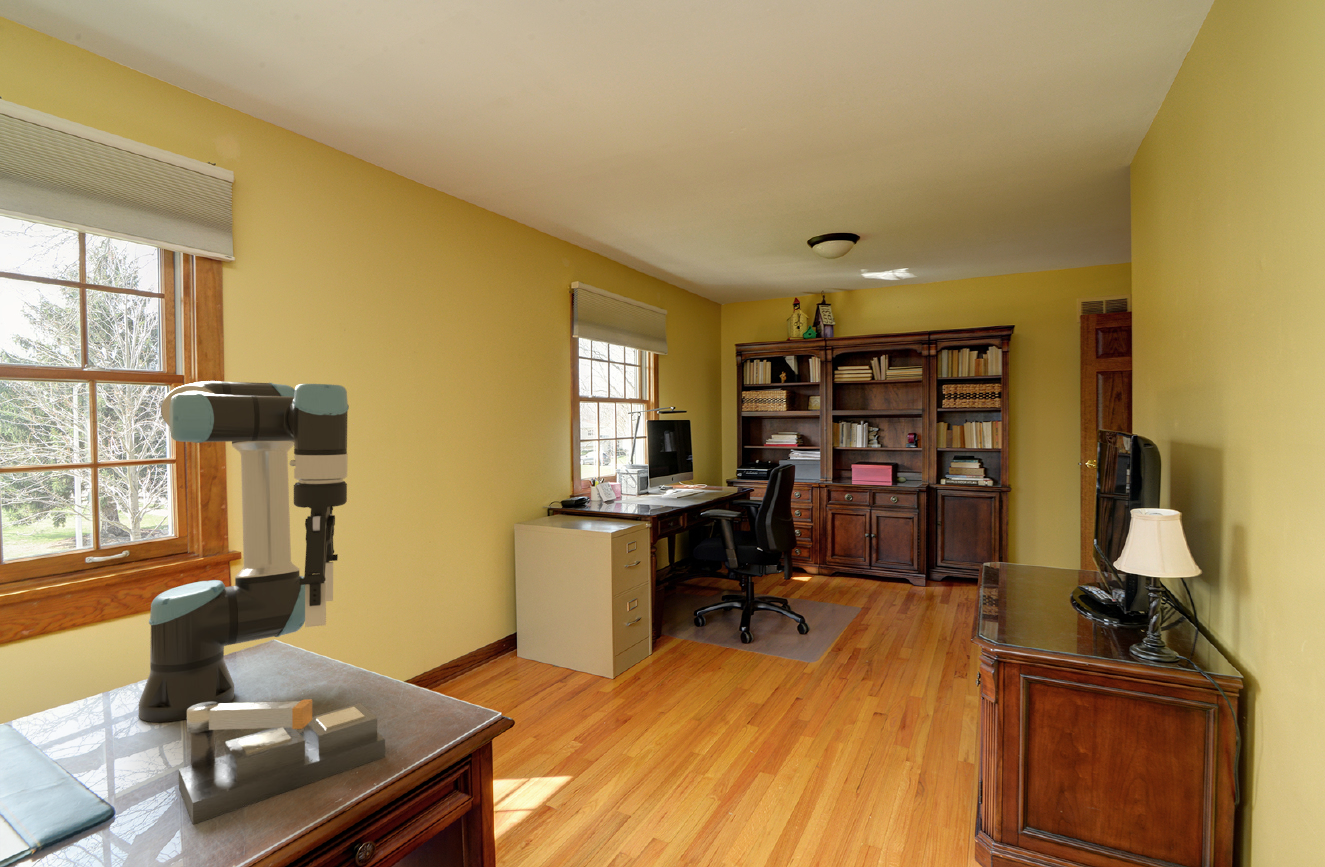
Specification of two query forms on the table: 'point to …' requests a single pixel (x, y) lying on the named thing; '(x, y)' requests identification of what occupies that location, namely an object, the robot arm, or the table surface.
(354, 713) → the grey stepped block base
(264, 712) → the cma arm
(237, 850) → the table surface
